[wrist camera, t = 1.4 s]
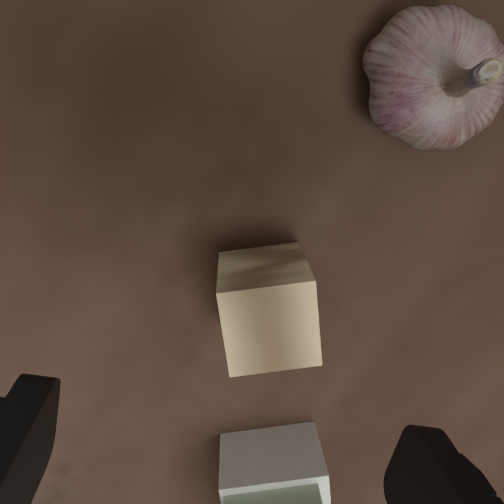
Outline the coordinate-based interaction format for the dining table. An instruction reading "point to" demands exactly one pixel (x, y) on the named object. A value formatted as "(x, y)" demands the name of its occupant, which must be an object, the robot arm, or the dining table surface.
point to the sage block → (279, 496)
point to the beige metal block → (268, 309)
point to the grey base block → (272, 460)
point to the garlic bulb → (435, 76)
